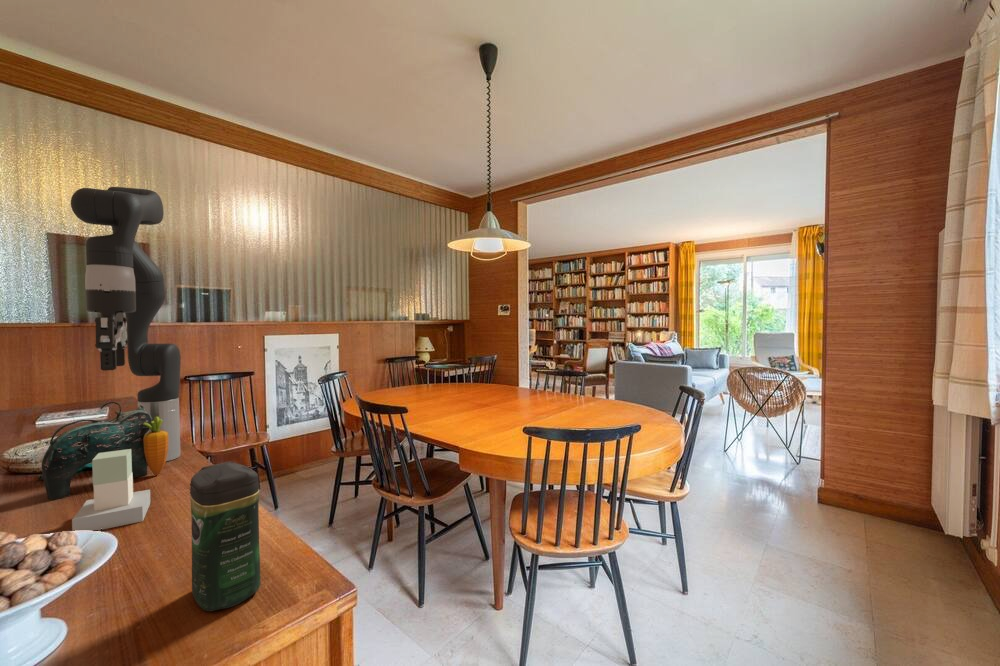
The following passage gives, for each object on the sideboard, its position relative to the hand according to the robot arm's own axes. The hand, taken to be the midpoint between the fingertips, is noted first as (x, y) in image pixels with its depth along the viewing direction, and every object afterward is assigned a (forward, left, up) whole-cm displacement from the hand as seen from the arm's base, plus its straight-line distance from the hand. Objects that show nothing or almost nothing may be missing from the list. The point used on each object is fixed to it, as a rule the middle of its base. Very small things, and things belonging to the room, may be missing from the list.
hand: (113, 368), depth 86 cm
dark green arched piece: (-21, -6, -30) cm, 37 cm away
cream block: (+3, 0, -27) cm, 27 cm away
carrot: (-22, +4, -30) cm, 38 cm away
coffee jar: (+43, +19, -30) cm, 56 cm away
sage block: (+3, 0, -22) cm, 22 cm away
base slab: (+3, 0, -30) cm, 30 cm away
